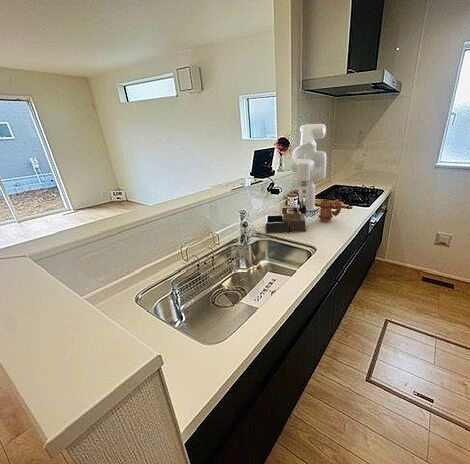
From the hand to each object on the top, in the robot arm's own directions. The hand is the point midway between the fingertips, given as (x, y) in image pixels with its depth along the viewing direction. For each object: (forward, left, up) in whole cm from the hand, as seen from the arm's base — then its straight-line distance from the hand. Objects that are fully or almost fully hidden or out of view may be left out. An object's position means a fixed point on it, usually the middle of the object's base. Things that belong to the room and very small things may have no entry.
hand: (302, 211), depth 154 cm
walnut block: (-3, -7, -3) cm, 9 cm away
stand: (0, -4, -11) cm, 11 cm away
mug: (-10, +19, -11) cm, 24 cm away
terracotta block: (+3, -7, -3) cm, 9 cm away
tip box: (0, -6, -4) cm, 7 cm away
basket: (0, -16, -11) cm, 19 cm away
